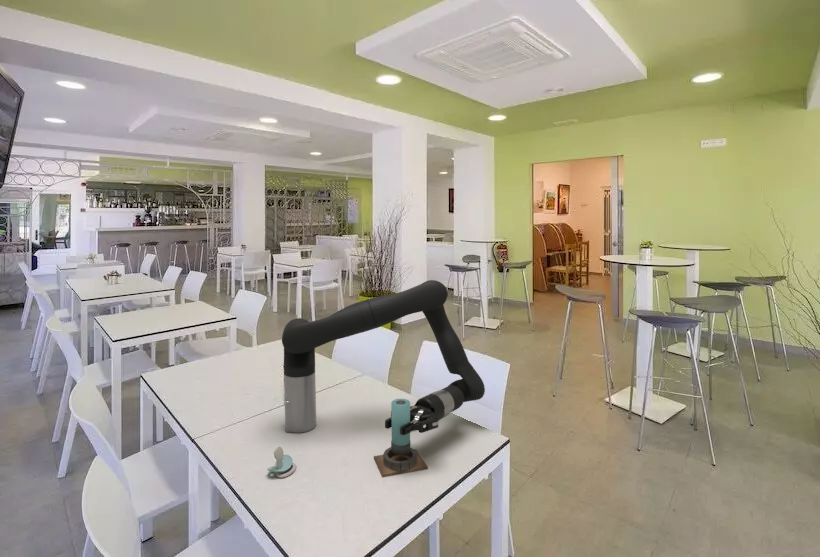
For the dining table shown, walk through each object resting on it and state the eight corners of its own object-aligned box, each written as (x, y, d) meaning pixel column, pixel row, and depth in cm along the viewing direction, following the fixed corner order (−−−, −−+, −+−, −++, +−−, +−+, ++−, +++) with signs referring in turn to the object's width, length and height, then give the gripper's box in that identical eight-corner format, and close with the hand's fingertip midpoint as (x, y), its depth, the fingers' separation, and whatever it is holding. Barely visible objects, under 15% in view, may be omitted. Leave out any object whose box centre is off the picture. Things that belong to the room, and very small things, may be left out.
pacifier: (301, 466, 113) (280, 461, 114) (301, 443, 112) (280, 439, 114) (285, 482, 106) (264, 477, 107) (285, 458, 105) (264, 453, 107)
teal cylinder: (394, 456, 110) (394, 407, 109) (389, 446, 115) (388, 399, 113) (413, 453, 112) (413, 405, 110) (406, 443, 117) (406, 397, 115)
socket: (382, 477, 108) (382, 467, 107) (373, 458, 116) (373, 449, 116) (427, 468, 112) (427, 459, 111) (416, 451, 120) (416, 442, 120)
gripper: (415, 387, 127) (373, 406, 115) (455, 401, 118) (414, 423, 105) (415, 411, 128) (374, 432, 116) (455, 427, 119) (414, 452, 106)
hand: (393, 428), depth 111 cm, fingers closed on teal cylinder, 4 cm apart
